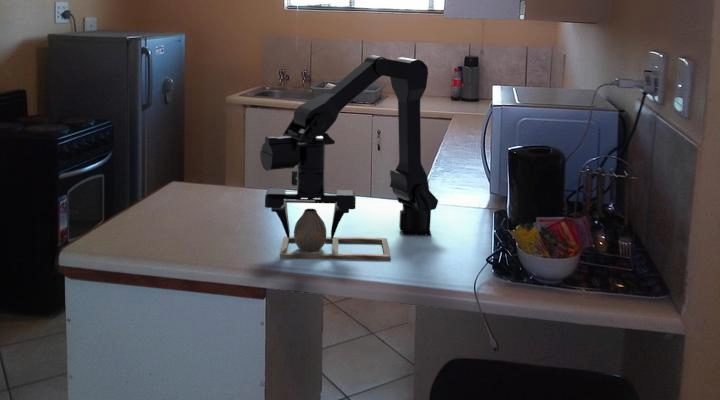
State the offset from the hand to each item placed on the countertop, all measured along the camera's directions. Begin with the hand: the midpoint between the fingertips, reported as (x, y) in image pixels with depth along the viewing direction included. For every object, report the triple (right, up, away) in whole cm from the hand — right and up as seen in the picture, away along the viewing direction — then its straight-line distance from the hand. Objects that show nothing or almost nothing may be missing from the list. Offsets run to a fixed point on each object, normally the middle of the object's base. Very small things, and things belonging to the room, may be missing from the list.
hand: (310, 237), depth 163 cm
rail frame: (+5, -3, +1) cm, 6 cm away
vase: (0, -3, +1) cm, 3 cm away
